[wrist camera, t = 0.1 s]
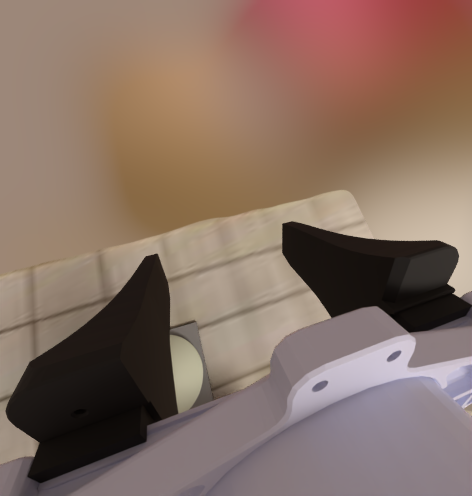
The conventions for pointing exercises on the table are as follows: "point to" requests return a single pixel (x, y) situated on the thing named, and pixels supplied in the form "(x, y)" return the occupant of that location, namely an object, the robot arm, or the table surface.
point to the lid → (185, 372)
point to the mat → (193, 337)
